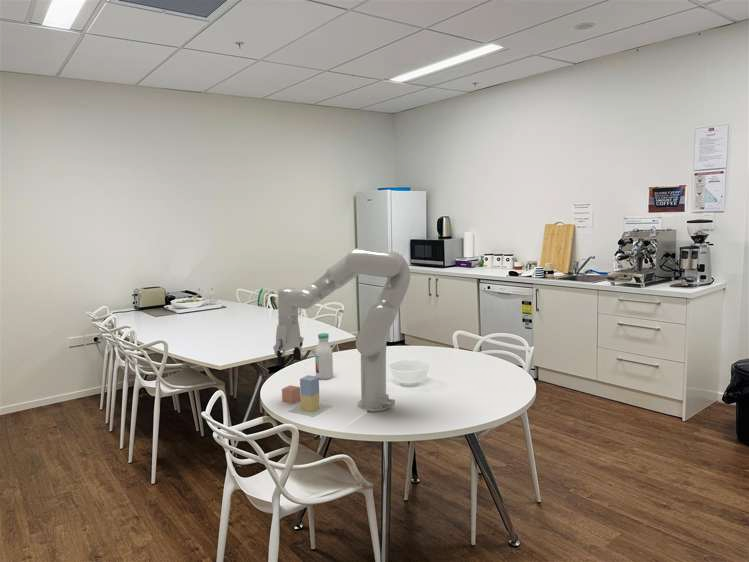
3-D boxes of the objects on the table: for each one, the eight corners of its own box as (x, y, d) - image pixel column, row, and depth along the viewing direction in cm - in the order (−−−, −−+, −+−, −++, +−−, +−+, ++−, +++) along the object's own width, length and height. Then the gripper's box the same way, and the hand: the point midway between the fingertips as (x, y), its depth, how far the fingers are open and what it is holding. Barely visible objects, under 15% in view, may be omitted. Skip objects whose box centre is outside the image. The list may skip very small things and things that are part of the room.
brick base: (319, 407, 205) (319, 392, 205) (311, 412, 201) (311, 396, 200) (308, 405, 208) (308, 390, 207) (300, 409, 204) (300, 394, 203)
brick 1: (300, 401, 215) (299, 387, 214) (292, 405, 211) (292, 390, 210) (290, 399, 217) (289, 385, 217) (282, 403, 213) (281, 388, 212)
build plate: (332, 408, 207) (332, 406, 207) (313, 419, 196) (313, 416, 196) (306, 403, 213) (306, 401, 213) (287, 413, 202) (287, 411, 202)
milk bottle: (335, 375, 248) (334, 332, 246) (329, 380, 241) (328, 336, 239) (319, 374, 251) (318, 331, 248) (313, 379, 243) (312, 335, 241)
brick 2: (319, 392, 205) (318, 376, 204) (311, 396, 200) (310, 380, 200) (308, 390, 207) (307, 375, 206) (300, 394, 203) (299, 378, 202)
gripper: (294, 315, 219) (295, 356, 221) (265, 323, 204) (267, 367, 206) (309, 317, 215) (310, 359, 218) (281, 325, 200) (282, 370, 203)
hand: (289, 363), depth 212 cm, fingers open, 9 cm apart
